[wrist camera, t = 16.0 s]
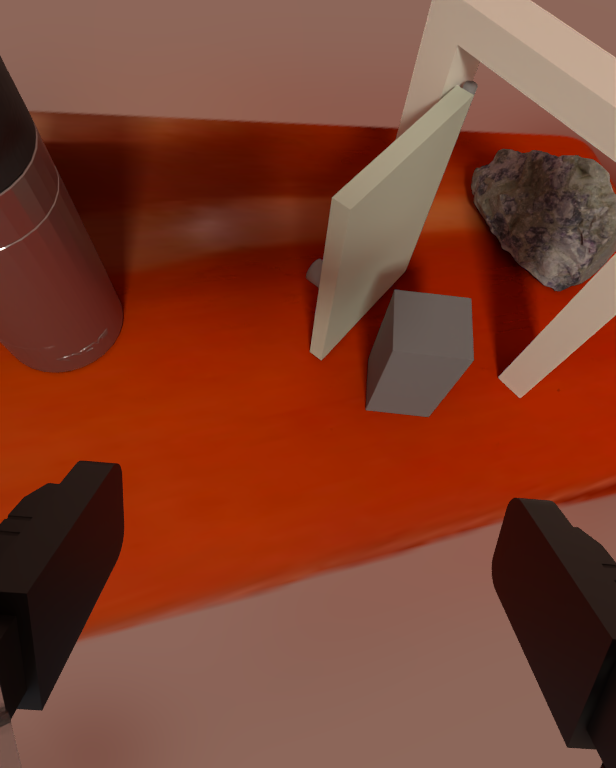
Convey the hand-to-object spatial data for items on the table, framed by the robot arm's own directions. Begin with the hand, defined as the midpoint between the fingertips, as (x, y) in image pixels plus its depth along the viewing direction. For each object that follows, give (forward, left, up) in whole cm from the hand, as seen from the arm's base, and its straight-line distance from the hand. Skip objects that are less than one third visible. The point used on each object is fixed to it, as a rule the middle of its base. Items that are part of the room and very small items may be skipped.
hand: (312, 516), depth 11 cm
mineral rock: (-9, +37, -27) cm, 47 cm away
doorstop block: (-6, +16, -27) cm, 32 cm away
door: (-14, +19, -26) cm, 35 cm away
